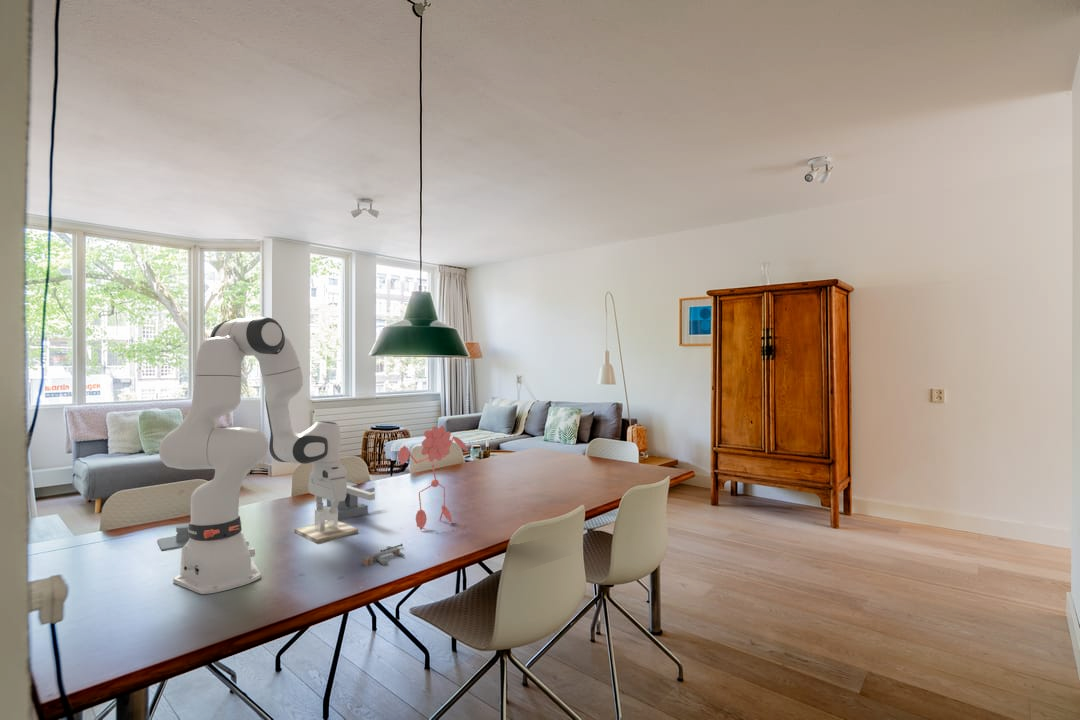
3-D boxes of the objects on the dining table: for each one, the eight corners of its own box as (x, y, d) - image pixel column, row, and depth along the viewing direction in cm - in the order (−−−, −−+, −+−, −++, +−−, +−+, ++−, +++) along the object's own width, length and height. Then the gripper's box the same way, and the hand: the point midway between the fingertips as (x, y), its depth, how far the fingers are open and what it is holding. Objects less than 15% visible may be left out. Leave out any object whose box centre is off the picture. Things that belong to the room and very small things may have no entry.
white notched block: (337, 528, 176) (337, 508, 176) (320, 532, 172) (320, 512, 172) (332, 525, 179) (332, 506, 179) (314, 529, 174) (314, 510, 175)
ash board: (358, 532, 175) (358, 528, 175) (316, 543, 165) (316, 539, 165) (334, 522, 186) (334, 519, 186) (294, 532, 176) (294, 528, 176)
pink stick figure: (393, 530, 177) (393, 427, 178) (457, 515, 195) (457, 421, 195) (415, 541, 166) (415, 431, 166) (482, 525, 183) (482, 425, 184)
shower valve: (219, 524, 168) (161, 534, 158) (218, 541, 168) (161, 552, 158) (211, 516, 178) (156, 525, 168) (211, 532, 177) (156, 542, 168)
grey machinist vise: (404, 517, 192) (404, 487, 192) (353, 530, 177) (353, 498, 177) (365, 504, 210) (365, 477, 210) (316, 515, 195) (316, 485, 195)
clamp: (371, 562, 144) (354, 553, 151) (371, 570, 144) (354, 561, 151) (419, 548, 155) (401, 540, 162) (419, 556, 155) (401, 548, 162)
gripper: (303, 466, 180) (303, 507, 180) (331, 474, 166) (331, 518, 166) (321, 464, 185) (321, 503, 185) (350, 471, 171) (350, 514, 171)
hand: (326, 510), depth 175 cm, fingers open, 8 cm apart
